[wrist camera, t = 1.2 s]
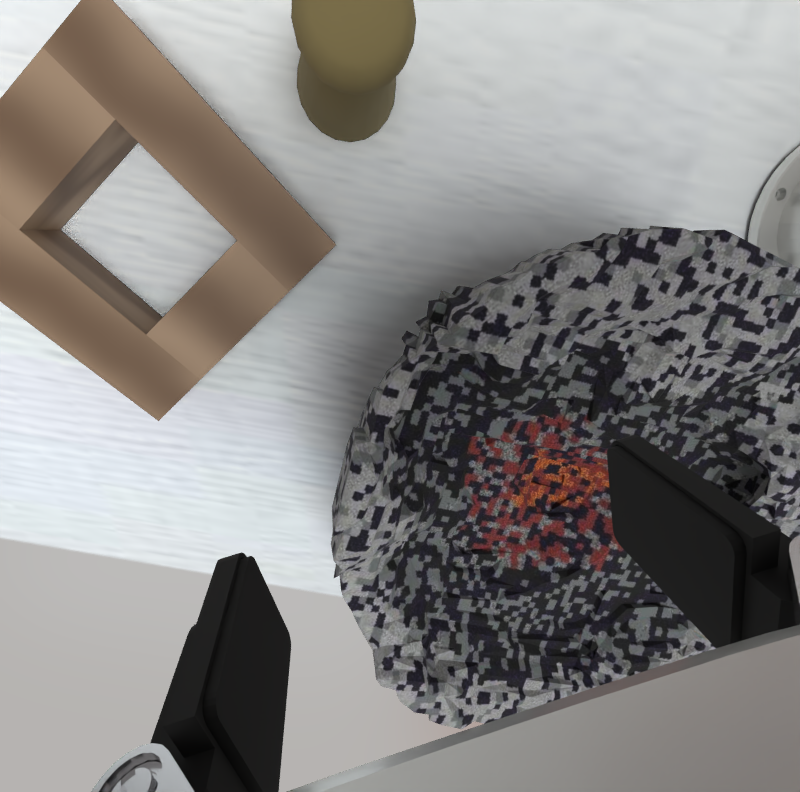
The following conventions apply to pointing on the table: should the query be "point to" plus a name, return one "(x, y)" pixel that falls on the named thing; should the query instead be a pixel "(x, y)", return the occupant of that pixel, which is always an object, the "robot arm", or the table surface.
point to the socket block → (90, 165)
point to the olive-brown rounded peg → (351, 61)
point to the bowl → (559, 463)
